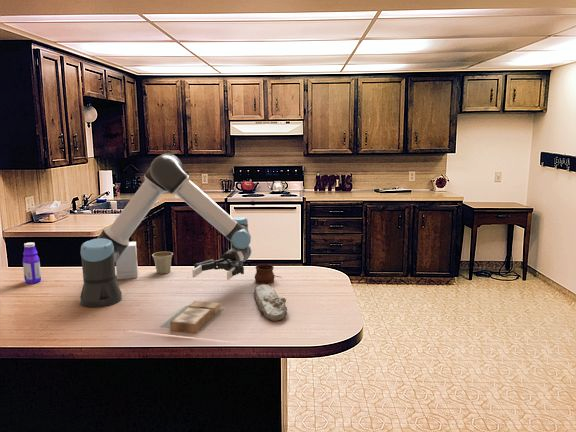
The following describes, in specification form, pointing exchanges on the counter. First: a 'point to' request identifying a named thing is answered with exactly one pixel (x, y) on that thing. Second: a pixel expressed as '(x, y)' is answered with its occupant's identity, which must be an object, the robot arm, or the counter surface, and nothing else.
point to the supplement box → (128, 263)
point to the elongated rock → (270, 302)
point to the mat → (167, 323)
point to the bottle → (31, 264)
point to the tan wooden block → (207, 306)
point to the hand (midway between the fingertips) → (210, 274)
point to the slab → (191, 320)
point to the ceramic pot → (264, 274)
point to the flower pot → (162, 261)
